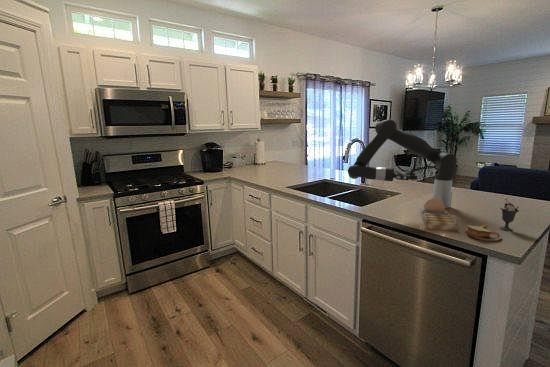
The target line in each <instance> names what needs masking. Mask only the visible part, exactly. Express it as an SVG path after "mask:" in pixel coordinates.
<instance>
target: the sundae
mask: <svg viewBox="0 0 550 367" xmlns="http://www.w3.org/2000/svg"><path fill="white" fill-rule="evenodd" d="M504 200H505V203H504V205H503V206H501V207H500V210H501V214H502V215H501V217H502V221H503V222H505V224H504V226H501V227H499V229H500V230H502V231H505V232H513V231H514V229H513V228H511V227H509V225H510V223H512V222H513V221H514V220H515V217H516V214H517V213H519V212H520V210H519V207H520V206H517V207H516V206H515V205H514V204H513V203H511V202H509V200H507V198H505V199H504ZM507 202H508V203H507Z"/></svg>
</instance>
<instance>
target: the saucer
mask: <svg viewBox="0 0 550 367" xmlns="http://www.w3.org/2000/svg"><path fill="white" fill-rule="evenodd" d="M423 209H424V210H425V211H429V212H442V213H443V212H444V211H446V208H445V204H444V203H443V201H442V200H440V199H438V198H433V197H431V198H429V199H427V200H426V201H425V202H424V204H423Z"/></svg>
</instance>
